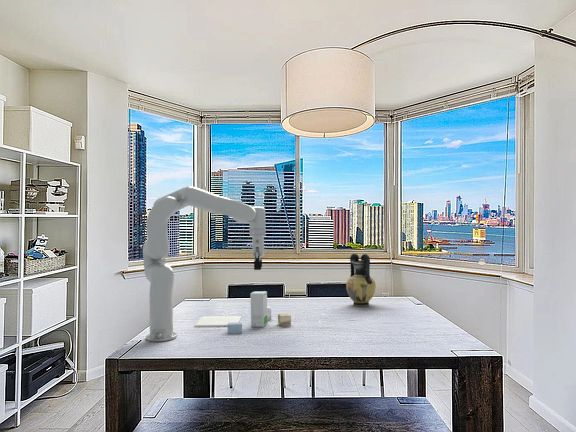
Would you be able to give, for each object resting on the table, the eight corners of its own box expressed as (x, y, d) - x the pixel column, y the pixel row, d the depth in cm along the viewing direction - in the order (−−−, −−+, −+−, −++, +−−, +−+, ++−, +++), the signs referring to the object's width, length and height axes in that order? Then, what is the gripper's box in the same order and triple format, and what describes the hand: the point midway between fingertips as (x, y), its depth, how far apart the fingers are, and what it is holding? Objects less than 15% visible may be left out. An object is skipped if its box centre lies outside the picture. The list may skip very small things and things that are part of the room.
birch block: (290, 325, 208) (290, 315, 208) (280, 326, 207) (280, 315, 207) (288, 323, 213) (287, 313, 213) (278, 324, 211) (277, 313, 211)
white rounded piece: (271, 320, 220) (271, 308, 220) (261, 320, 220) (261, 308, 220) (271, 318, 225) (271, 306, 225) (261, 318, 225) (261, 306, 225)
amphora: (340, 304, 260) (339, 253, 261) (358, 301, 271) (357, 252, 272) (364, 308, 247) (363, 255, 248) (382, 305, 258) (381, 253, 259)
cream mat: (237, 326, 207) (237, 324, 207) (194, 326, 207) (194, 325, 207) (241, 317, 227) (241, 315, 227) (202, 317, 227) (202, 316, 227)
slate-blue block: (241, 333, 194) (241, 324, 195) (227, 333, 194) (227, 324, 194) (242, 331, 198) (241, 322, 199) (228, 331, 198) (228, 322, 198)
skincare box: (263, 327, 205) (263, 293, 205) (249, 326, 206) (249, 293, 206) (268, 323, 213) (267, 290, 213) (254, 323, 214) (254, 290, 215)
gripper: (264, 232, 202) (265, 270, 202) (266, 232, 219) (266, 266, 219) (248, 233, 202) (248, 270, 201) (250, 232, 219) (251, 267, 219)
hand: (258, 268), depth 210 cm, fingers open, 9 cm apart
